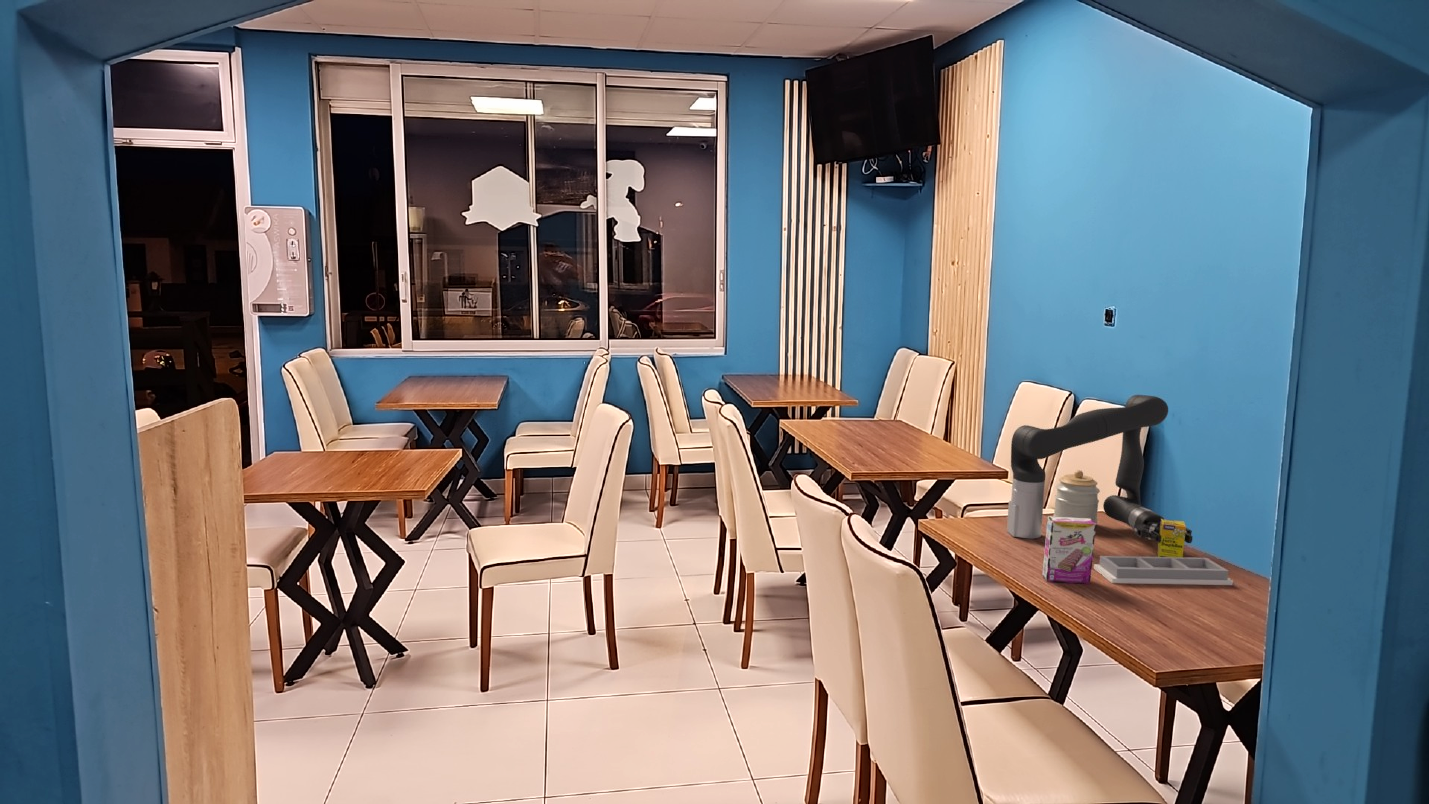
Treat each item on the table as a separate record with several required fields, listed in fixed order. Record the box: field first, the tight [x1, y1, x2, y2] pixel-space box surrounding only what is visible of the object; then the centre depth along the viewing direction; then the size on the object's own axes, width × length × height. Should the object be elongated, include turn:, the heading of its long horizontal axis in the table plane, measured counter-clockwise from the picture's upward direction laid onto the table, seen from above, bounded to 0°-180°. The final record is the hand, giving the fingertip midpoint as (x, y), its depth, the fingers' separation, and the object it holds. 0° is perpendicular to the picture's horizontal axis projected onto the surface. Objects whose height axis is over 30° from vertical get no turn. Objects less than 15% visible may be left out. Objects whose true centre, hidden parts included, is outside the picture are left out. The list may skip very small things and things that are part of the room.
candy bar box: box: [1041, 515, 1097, 584], centre depth 231 cm, size 11×5×16 cm, turn 84°
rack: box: [1093, 555, 1234, 586], centre depth 236 cm, size 31×11×4 cm, turn 90°
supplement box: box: [1156, 518, 1187, 557], centre depth 249 cm, size 6×6×11 cm
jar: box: [1053, 469, 1101, 525], centre depth 282 cm, size 13×13×18 cm
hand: (1175, 539), depth 247 cm, fingers open, 8 cm apart
